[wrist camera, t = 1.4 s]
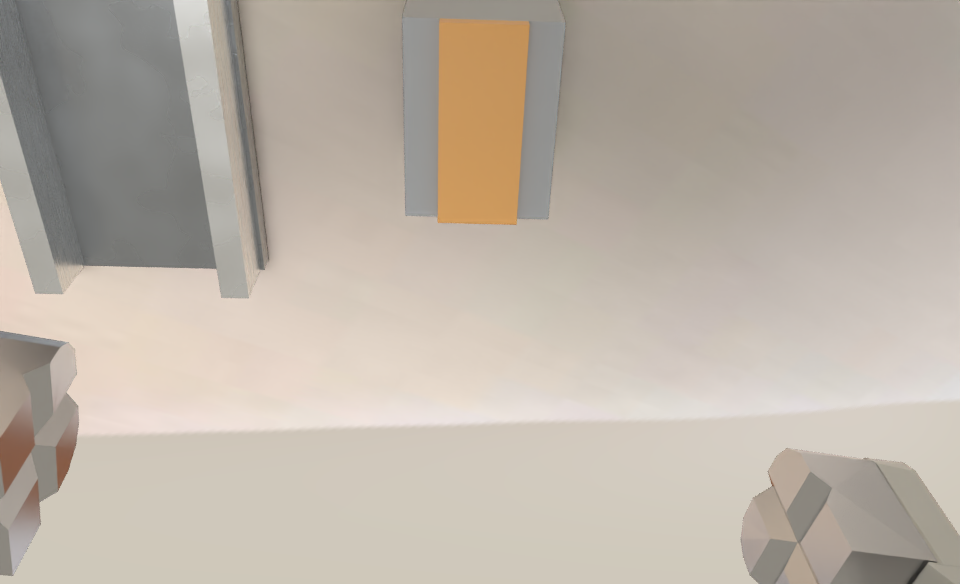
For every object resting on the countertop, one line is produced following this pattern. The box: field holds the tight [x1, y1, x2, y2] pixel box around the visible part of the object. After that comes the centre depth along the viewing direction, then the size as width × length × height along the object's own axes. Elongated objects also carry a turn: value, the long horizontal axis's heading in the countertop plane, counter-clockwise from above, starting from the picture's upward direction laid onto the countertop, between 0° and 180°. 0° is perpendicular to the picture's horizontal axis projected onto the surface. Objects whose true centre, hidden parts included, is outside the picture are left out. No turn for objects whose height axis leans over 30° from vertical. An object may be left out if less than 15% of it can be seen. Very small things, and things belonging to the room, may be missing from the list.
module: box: [402, 0, 566, 225], centre depth 26 cm, size 4×6×6 cm
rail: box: [0, 0, 269, 298], centre depth 26 cm, size 8×20×3 cm, turn 178°
